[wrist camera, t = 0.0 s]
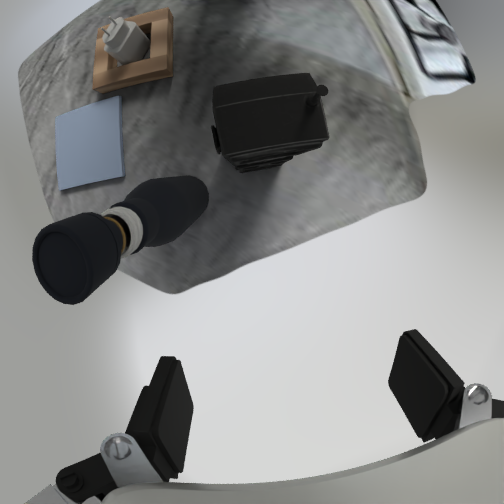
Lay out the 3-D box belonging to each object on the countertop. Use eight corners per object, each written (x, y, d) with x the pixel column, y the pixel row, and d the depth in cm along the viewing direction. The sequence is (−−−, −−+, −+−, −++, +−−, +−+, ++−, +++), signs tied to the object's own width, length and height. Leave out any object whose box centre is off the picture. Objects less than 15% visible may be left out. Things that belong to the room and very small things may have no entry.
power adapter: (152, 41, 31) (125, 6, 20) (136, 68, 32) (103, 40, 21) (137, 38, 31) (107, 5, 19) (121, 65, 32) (85, 38, 20)
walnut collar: (106, 35, 30) (98, 28, 26) (173, 17, 30) (168, 7, 26) (102, 93, 33) (92, 89, 30) (172, 76, 33) (166, 68, 30)
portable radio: (230, 175, 38) (205, 182, 14) (221, 135, 36) (185, 79, 12) (284, 165, 38) (348, 157, 14) (276, 125, 36) (325, 58, 12)
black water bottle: (196, 167, 37) (71, 164, 9) (216, 206, 39) (146, 300, 10) (158, 189, 38) (1, 239, 9) (179, 226, 40) (61, 343, 11)
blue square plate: (58, 117, 34) (55, 117, 33) (121, 96, 34) (118, 95, 33) (62, 189, 37) (58, 190, 36) (125, 176, 37) (122, 176, 36)
